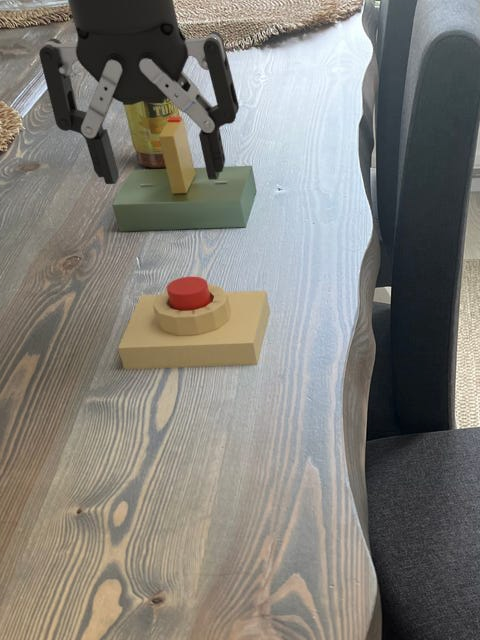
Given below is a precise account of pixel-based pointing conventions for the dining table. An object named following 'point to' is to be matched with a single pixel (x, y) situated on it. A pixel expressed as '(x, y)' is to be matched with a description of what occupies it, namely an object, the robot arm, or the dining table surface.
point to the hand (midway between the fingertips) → (164, 178)
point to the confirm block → (196, 331)
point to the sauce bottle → (149, 129)
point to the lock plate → (185, 201)
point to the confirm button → (188, 293)
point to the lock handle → (177, 155)
